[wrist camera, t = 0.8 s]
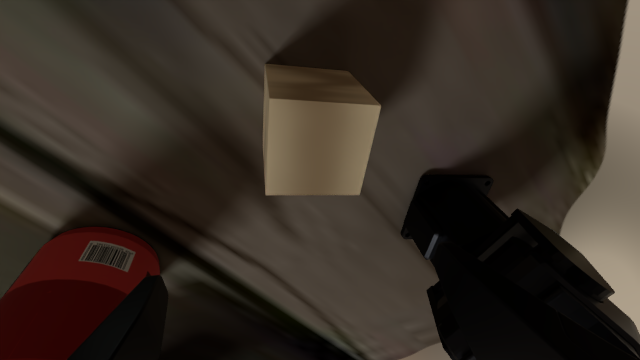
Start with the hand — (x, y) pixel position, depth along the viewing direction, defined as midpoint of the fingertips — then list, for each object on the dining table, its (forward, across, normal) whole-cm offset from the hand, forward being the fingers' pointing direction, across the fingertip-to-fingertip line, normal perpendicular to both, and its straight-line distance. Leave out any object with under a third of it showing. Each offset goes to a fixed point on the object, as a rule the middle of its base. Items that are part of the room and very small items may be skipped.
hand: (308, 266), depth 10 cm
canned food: (+12, +14, +10) cm, 21 cm away
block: (+12, -1, -1) cm, 12 cm away
